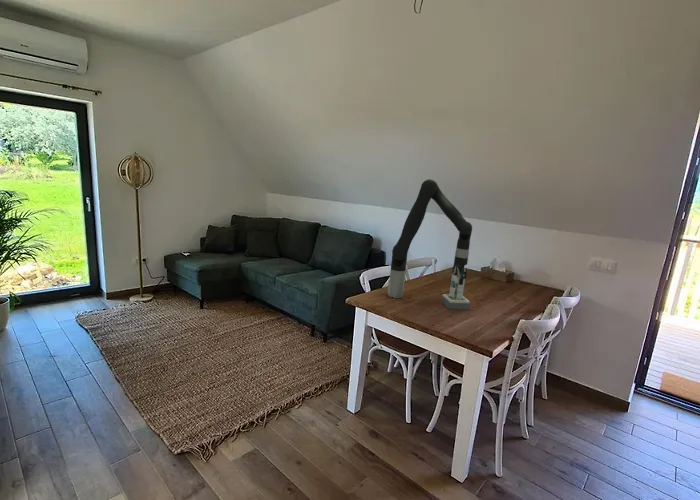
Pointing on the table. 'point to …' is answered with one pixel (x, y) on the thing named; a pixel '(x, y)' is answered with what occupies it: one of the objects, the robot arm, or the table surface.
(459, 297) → the syrup box
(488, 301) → the table surface
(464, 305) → the plinth
